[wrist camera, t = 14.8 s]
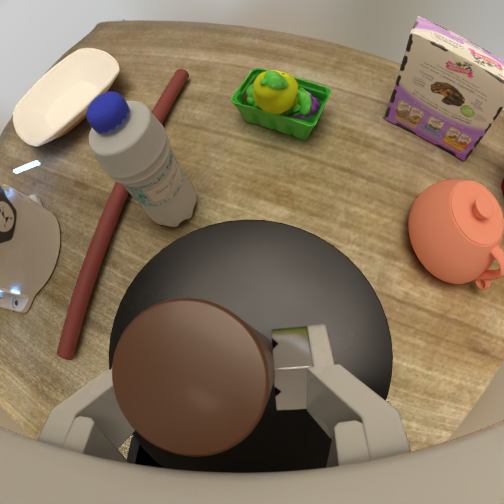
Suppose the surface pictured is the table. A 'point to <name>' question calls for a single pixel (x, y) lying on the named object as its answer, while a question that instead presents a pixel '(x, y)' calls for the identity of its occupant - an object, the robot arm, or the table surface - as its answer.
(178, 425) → the lid
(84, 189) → the table surface
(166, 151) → the bottle
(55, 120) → the bowl
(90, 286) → the red brown collared rod
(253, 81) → the fruit basket
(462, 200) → the sugar bowl
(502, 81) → the candy box
